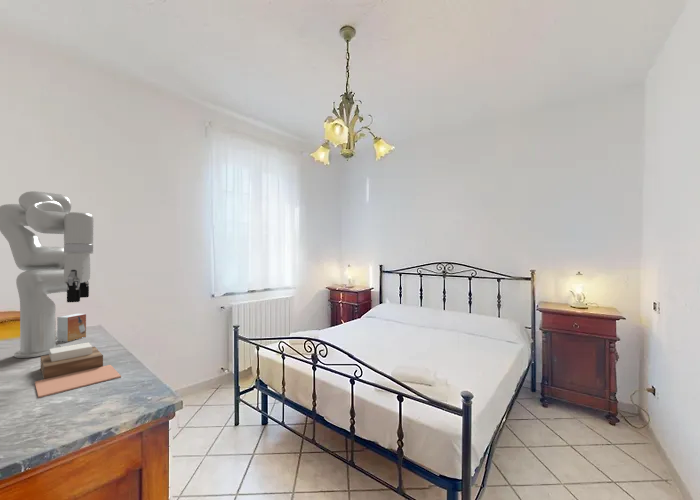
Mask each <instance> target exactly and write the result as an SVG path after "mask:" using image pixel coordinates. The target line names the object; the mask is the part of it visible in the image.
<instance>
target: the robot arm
mask: <svg viewBox="0 0 700 500" xmlns="http://www.w3.org/2000/svg"><path fill="white" fill-rule="evenodd" d="M71 210H72V202H71V200H70V199H69V198H68V196H65V195H63V194H60V193H54V192H53V193H52V192H44V191H35V190H34V191H31V190H30V191H26V192H24V193H22V194H20V196H19V198H18V203H7V204H2V205H0V233H1V235H2V236H4V238H5V239H6V240H7V243H8V244H9V247H10V251H11V254H12V256H13V260H14V263H15V265H16V267H17V268H18V269H19V270H21V271H23V272H20V273H19V274H18V275H17V277H16V279H15V282H16V288H17V292H18V297H19V313H20V314H19V315H20V317H19V324H20V326H19V330H20V331H19V334H20V335H19V337H20V338H19V339H20V340H19V341H20V342H19V344H20V345H19V347H20V349H19V350H17V351H15V352H14V353H13V356H14V358H16V359H28V358H37V357H41V356H46V355H49V349H53V348H58V347H62V345H60V344H56V343H57V342H56V341H57V336H56V331H57V330H56V329H57V328H56V325H57V323H56V319H57V318H56V303H55V302H54V300H53V299H51V297H49V296H48V295H50V294H59V293H60V294H61V293H66V303H80V302H81V298H82V299H83V298H88V297H89V296H90V286H89V285H90V282H89V280H90V279H91V256H90V255H91V254H94V216H93V215H92V214H91V213H88V212H87V213H86V212H80V211H79V212H77V211H76V212H73V211H72V212H71ZM27 227H29V228H31V229H32V230H34V231H36V233H40V234H48V235H49V234H52V235H55V234H56V235H63V247H60V246H44V245H42V243H41V241H40V238H39V237H38V235H37V234H35V233H34V232H33V231H31V230H30V229H28V228H27Z"/></svg>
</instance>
